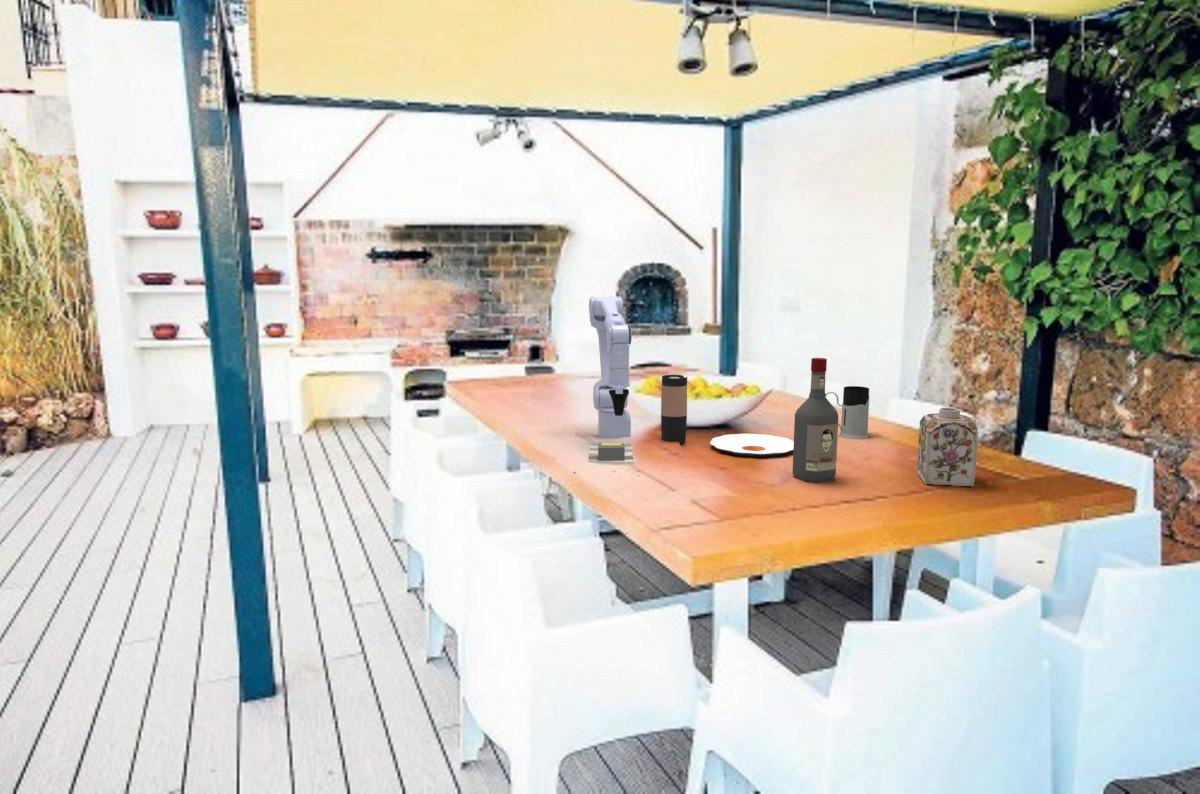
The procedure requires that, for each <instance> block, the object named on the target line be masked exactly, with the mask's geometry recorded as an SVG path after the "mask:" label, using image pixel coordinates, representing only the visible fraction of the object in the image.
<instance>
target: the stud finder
mask: <svg viewBox="0 0 1200 794" xmlns="http://www.w3.org/2000/svg"><path fill="white" fill-rule="evenodd" d="M597 444H598V461H625V447H624V444H625V443H623V442H619V443H618V442H617V443H614V442H606V443H605V442H603V443H602V442H601V443H597Z"/></svg>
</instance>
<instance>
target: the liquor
mask: <svg viewBox="0 0 1200 794" xmlns="http://www.w3.org/2000/svg"><path fill="white" fill-rule="evenodd" d="M810 360H811V361H810V363H811V364H810V372H811V375H810V376H811V378H810V389H809V390H810V392H809V394H808V398H807V399H806V400H805V401H804V402H803V403H802V404H800V406H799V407H798V408H797V409H796V410H795V414H794V428H793V441H794V448H793V451H792V452H793V454H792V475H793V478H796V479H799V480H801V481H804V482H805V483H816V484H817V483H825V482H832V481H833V480H834V478H835V476H836V475H837V453H838V452H837V451H838V436H839V433H838V431H839V425H838V424H839V416H840V415H839V414H838V410H837V409H836V408H835V407H834V406H833V404H832V403H831V402H830V401H829V399H828V398H827V397H826V396H827V395H826V394H827V393H826V374H827V363H828V359H827V358H824V357H813V358H812V357H811V359H810Z"/></svg>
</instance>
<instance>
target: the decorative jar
mask: <svg viewBox="0 0 1200 794" xmlns="http://www.w3.org/2000/svg"><path fill="white" fill-rule="evenodd" d="M938 410H939V411H938V413H934V412H933V413H927V414H924V415H922V417H921V419H920V421H919V427H918V428H919V429H918V441H917V442H918V443H917V455H916V457H917V458H916V459H917V460H916V462H917V463H916V464H917V465H916V473H917V475H918V476H919V478H920V479H921V480H922V482H923V485H925V484H932V485H931V486H942V485H952V486H951V487H961V486H973V487H974V486H975V481H976V469H977V468H976V467H977V457H978V456H977V455H978V440H979V438H978V437H979V431H978V426H977V423H976V420H975V419H974V418H973V417H971V416H967V415H963V414H961V409H959V408H956V407H940V408H939V409H938Z"/></svg>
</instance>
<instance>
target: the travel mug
mask: <svg viewBox="0 0 1200 794" xmlns="http://www.w3.org/2000/svg"><path fill="white" fill-rule="evenodd" d="M660 393H661V396H660V397H661V399H660V400H661V401H660V429H661V430H660V431H661V432H660V435H661V436H660V437H661V441H664V442H668V443H679V446H684V445H685V444H686V443H687V421H688V376H686V377H685V376H684V375H682V374H664V375H662V376H661V392H660ZM683 444H684V445H683Z"/></svg>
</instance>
